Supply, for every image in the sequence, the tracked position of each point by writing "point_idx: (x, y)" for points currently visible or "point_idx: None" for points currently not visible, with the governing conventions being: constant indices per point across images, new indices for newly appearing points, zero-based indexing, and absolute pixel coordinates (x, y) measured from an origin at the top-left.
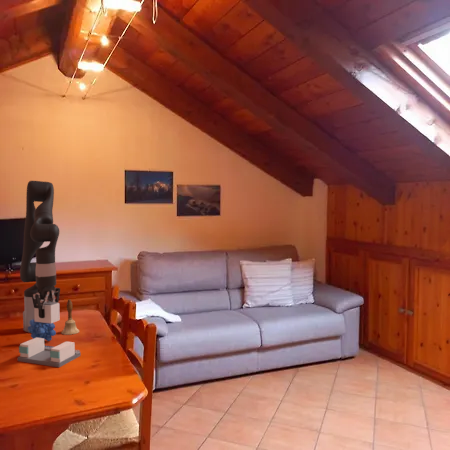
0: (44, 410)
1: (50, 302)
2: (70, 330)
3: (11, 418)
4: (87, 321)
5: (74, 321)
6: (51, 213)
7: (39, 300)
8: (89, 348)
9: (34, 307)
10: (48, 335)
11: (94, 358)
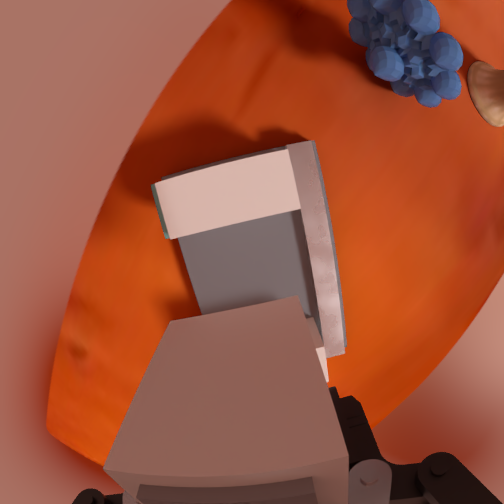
0: (98, 452)
1: None
2: (491, 106)
3: (54, 428)
4: None
5: None
6: None
7: None
8: (413, 303)
9: (82, 496)
10: (406, 85)
11: (341, 386)
